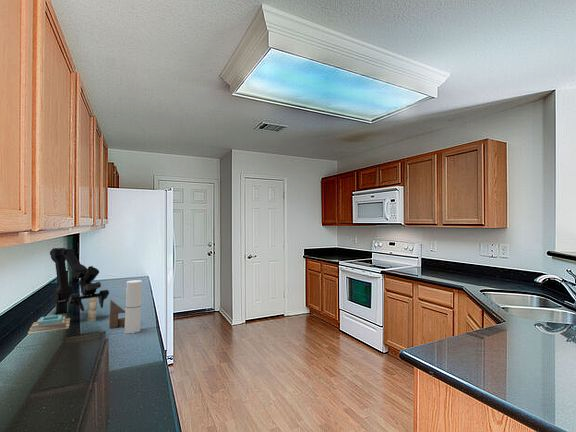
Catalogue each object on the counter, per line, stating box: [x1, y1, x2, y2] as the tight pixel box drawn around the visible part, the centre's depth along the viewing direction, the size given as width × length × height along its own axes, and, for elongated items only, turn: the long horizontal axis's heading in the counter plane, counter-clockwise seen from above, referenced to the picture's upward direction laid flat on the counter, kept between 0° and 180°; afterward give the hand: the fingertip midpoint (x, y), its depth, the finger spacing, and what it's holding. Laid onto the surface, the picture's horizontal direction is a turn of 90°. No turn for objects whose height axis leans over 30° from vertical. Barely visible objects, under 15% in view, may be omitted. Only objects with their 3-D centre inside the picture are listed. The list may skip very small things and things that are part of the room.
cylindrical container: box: [124, 279, 143, 334], centre depth 156 cm, size 7×7×25 cm
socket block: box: [38, 314, 63, 325], centre depth 159 cm, size 9×9×4 cm
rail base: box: [27, 315, 71, 335], centre depth 160 cm, size 20×16×3 cm
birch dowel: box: [87, 297, 98, 322], centre depth 170 cm, size 4×4×13 cm
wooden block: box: [108, 299, 126, 329], centre depth 164 cm, size 4×11×18 cm, turn 126°
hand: (93, 309), depth 169 cm, fingers open, 9 cm apart
